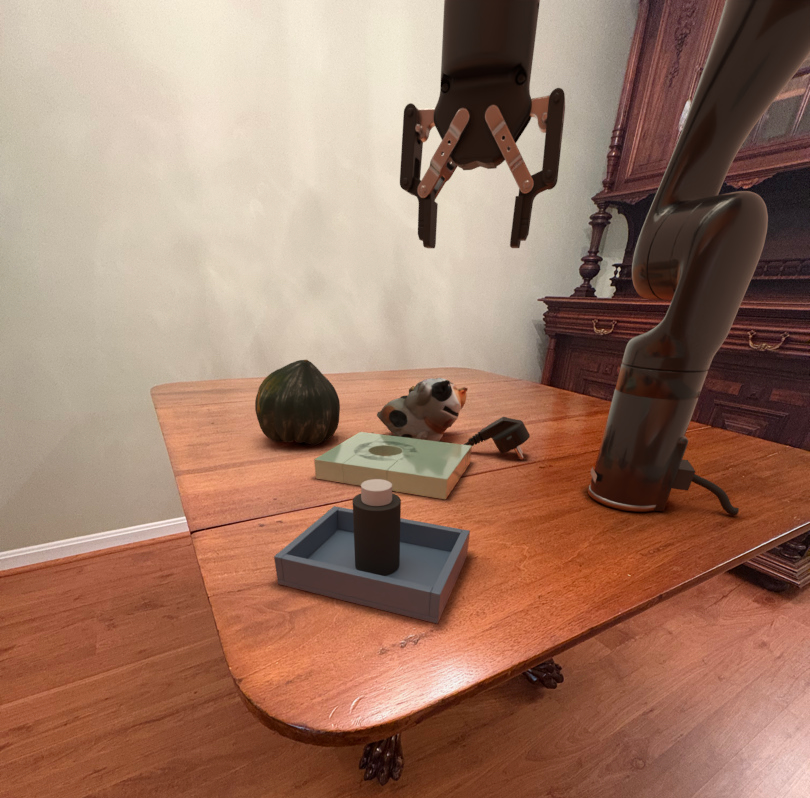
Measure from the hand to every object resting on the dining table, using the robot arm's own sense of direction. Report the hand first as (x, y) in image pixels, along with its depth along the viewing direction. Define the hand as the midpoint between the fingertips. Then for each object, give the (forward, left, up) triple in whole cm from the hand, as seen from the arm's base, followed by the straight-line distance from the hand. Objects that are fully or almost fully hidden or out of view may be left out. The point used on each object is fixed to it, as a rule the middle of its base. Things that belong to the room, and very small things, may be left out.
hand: (471, 247), depth 42 cm
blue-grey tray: (+3, +17, -28) cm, 33 cm away
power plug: (-1, -24, -28) cm, 37 cm away
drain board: (+11, -10, -28) cm, 32 cm away
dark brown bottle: (+3, +17, -28) cm, 33 cm away
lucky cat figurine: (+13, -29, -28) cm, 43 cm away
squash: (+33, -18, -28) cm, 47 cm away
